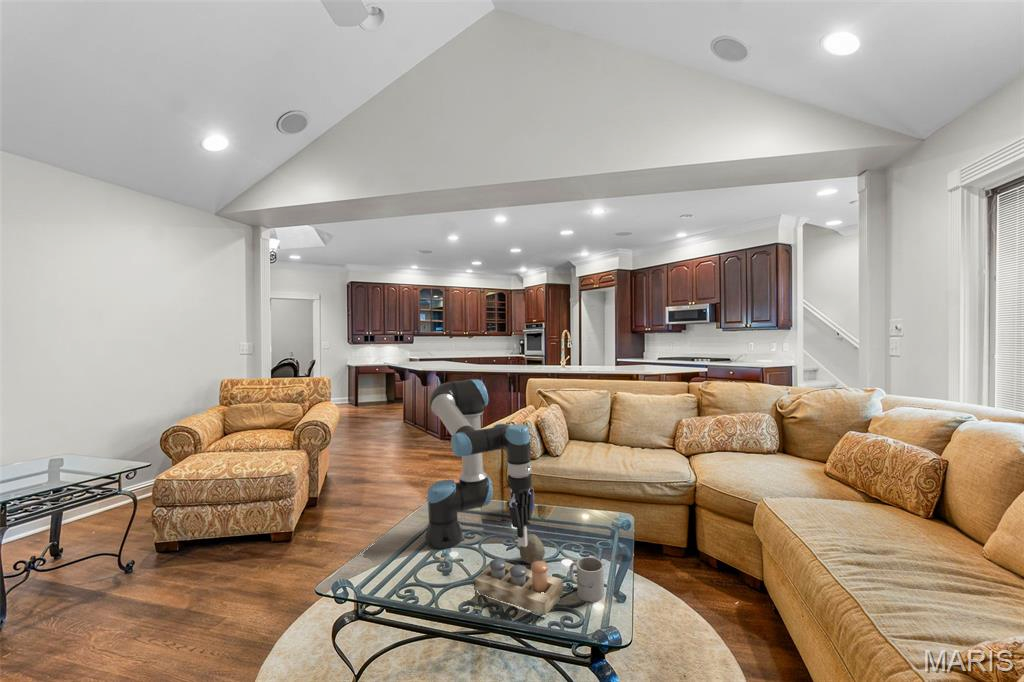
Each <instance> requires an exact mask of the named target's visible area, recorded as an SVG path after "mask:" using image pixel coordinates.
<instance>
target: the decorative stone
mask: <svg viewBox="0 0 1024 682" xmlns="http://www.w3.org/2000/svg"><path fill="white" fill-rule="evenodd" d="M527 543H528V545H527V546H526V547H523V546H519V555H520V557H521V559H522V560H523V561H524V562H525V563H526V564H530V565H531V564H532V563H533V562H535V561H543V559H544V557H545V554H546V551H545V545H544V543H543V542H542V541H541V539H540V538H539V536H537V535H536V534H535V533H533V534H532V533H529V534H528V533H527Z"/></svg>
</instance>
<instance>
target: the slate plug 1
mask: <svg viewBox="0 0 1024 682" xmlns="http://www.w3.org/2000/svg"><path fill="white" fill-rule="evenodd" d="M506 563H507V562H506V560H504V559H502V558H494V559H492V560H491V561H490V562H489V566H490V568H491V577H493V578H496V579H499V580H501V579H502V578H503V577H504V576H505V566H506Z"/></svg>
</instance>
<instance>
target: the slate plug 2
mask: <svg viewBox="0 0 1024 682" xmlns="http://www.w3.org/2000/svg"><path fill="white" fill-rule="evenodd" d="M514 565H515V566H512V567H511V568H510V574H511V584H514V585H517V586H520V587H523V585H524V584H525V583H526V569H527V568H526V566H525V565H521V564H514Z"/></svg>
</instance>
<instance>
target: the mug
mask: <svg viewBox="0 0 1024 682" xmlns="http://www.w3.org/2000/svg"><path fill="white" fill-rule="evenodd" d="M574 566H576V577H575V575H574ZM604 569H605V568H604V563H603V561H602V560H600V559H599V558H597V557H593V556H584V557H581V558H579V559H578V560H577V561H573V562H571V563H570V566H569V577H570V578H571V581H572V582H573V583H574V584H576V587H577V596H578V598H580V599H581V600H583V601H584V602H587V601H590V603H597V602H600V601H601V600H603V599H604V597H605V580H604V579H605V574H604V573H605V572H604Z"/></svg>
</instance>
